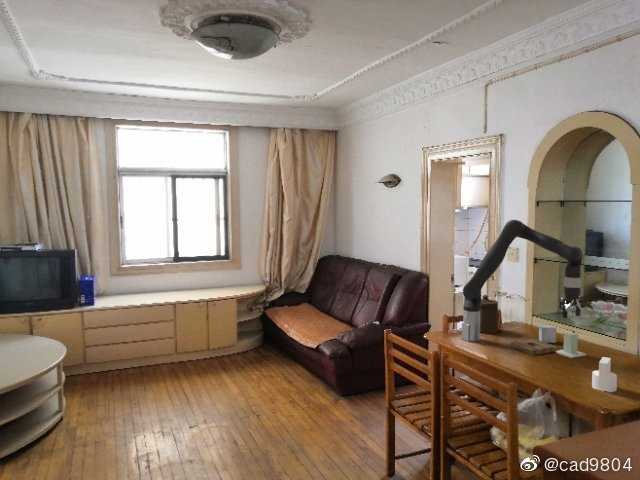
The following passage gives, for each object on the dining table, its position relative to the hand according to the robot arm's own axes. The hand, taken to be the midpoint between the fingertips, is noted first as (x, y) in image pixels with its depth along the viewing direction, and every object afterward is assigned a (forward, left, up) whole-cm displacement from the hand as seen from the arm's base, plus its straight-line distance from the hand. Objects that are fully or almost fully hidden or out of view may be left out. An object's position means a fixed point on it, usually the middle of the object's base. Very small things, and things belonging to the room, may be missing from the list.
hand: (571, 316), depth 246 cm
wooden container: (-10, +54, -20) cm, 58 cm away
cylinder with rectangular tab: (-24, -39, -20) cm, 50 cm away
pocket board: (-11, +14, -19) cm, 26 cm away
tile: (0, 0, -19) cm, 19 cm away
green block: (0, 0, -19) cm, 19 cm away
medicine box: (+6, +21, -20) cm, 30 cm away
